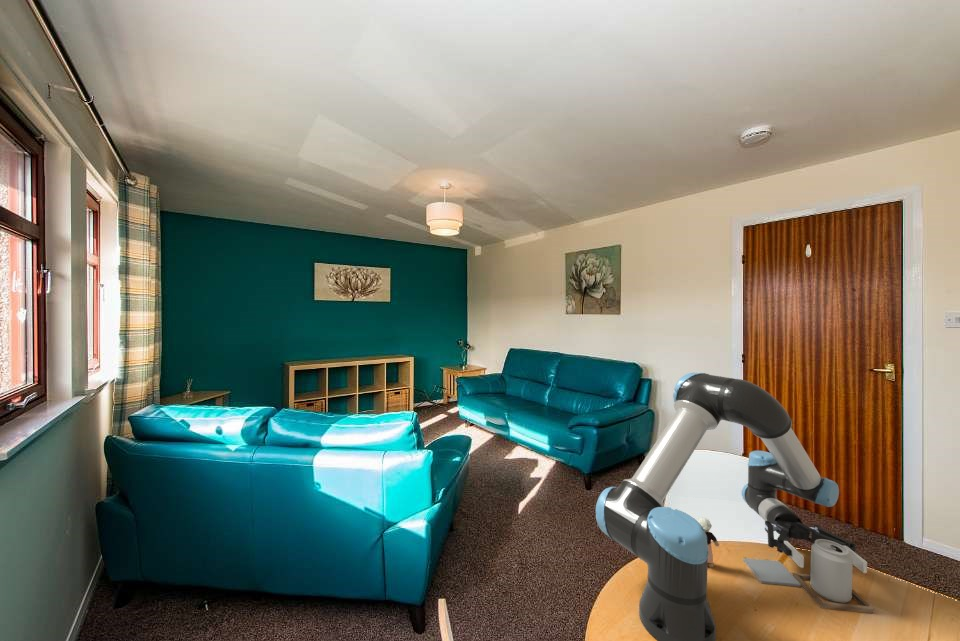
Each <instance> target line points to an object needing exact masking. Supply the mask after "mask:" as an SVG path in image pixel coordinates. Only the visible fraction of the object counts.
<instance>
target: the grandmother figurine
mask: <svg viewBox="0 0 960 641" xmlns="http://www.w3.org/2000/svg"><path fill="white" fill-rule="evenodd" d="M697 521H698V522H699V523H700V525H701V526H702V527H703V529H704V530H705V534H706V536H707V547H708V552H709V554H708V562H707V567H709V568H714V567H715V566H714V558H713V556H714V555H713V550H712V549H713V547H712V543H714V546H715V547H717V548H718V547H719V546H720V544H719V542H718V539H717V538H716V536H715V535H714V534H713V533H712V532H711V531H710V530H711V529H712V524H711V521H710V520H709V519H708V518H707V517H700V518H698V520H697Z"/></svg>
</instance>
